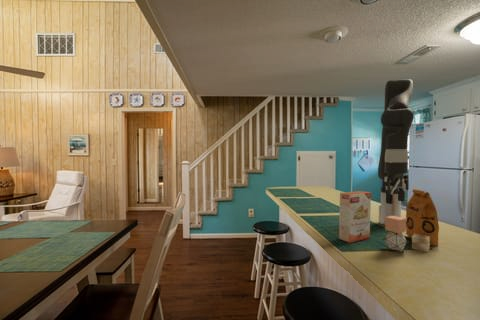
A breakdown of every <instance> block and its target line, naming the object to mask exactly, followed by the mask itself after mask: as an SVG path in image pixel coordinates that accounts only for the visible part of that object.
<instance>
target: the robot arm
mask: <svg viewBox="0 0 480 320" xmlns="http://www.w3.org/2000/svg"><path fill="white" fill-rule="evenodd" d="M413 91H414V83H413V80H412V79H410V78H409V79H408V78H407V79H406V78H405V79H404V78H402V79H392V80H388V81H387V82H386V84H385V87H384V110H383V112H382V114H381V116H380V123H381V126H382V128H381V129H382V130H381V141H380V143H381V144H380V145H381V146H380V154H379V155H380V156H379V161H378V167H377V175H378V178H379V179H380V180H382V183H381V187H380V205H379V206H378V223H379V224H381V225H382V226H385V217H388V216H397V217H402V202H405V200H406V199H405V198H406V192H407V191H408V190H409V184H410V183H409V175H408V172H409V171H408V170H409V169H408V167H409V164H408V163H409V153H408V138H409V132H410V129H411V127H412V124H413V121H414V118H415V113H414V112H413V110H412V109H411V108H409V104H410V101H411V98H412V95H413Z"/></svg>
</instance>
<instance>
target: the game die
mask: <svg viewBox="0 0 480 320" xmlns="http://www.w3.org/2000/svg"><path fill="white" fill-rule="evenodd" d="M382 241H384V242H385V244H386V246H387V252H389V251H390V250H391V251H393V250H394V251H400V252H402V253H403V254H404V253H405V251H404V249H405V247H406V245H407V243H410V241H409V240H407V239H406V237H405V235H404V234H403V232H402V233H396V232H392V231H388V230H387V232H386V235H385V236H384V238H382Z"/></svg>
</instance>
